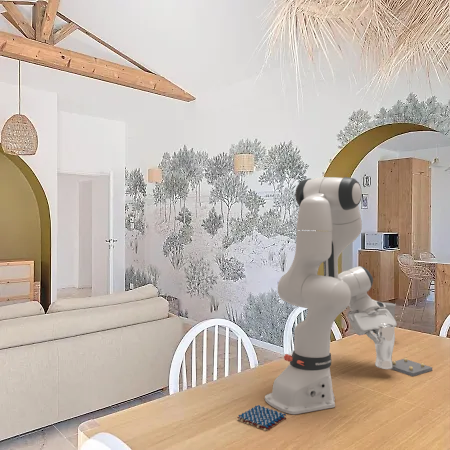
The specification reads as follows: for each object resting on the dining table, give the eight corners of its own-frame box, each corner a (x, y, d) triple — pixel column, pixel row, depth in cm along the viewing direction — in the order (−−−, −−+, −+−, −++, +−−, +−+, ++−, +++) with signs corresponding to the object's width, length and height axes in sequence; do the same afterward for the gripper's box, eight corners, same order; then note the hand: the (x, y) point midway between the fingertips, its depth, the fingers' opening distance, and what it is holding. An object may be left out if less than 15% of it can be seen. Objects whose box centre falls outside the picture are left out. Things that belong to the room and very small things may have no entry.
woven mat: (257, 409, 131) (257, 403, 131) (287, 420, 125) (287, 413, 125) (235, 422, 123) (235, 415, 123) (266, 434, 116) (266, 426, 116)
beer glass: (391, 363, 162) (391, 323, 162) (396, 370, 155) (397, 327, 155) (371, 362, 163) (372, 322, 162) (376, 369, 156) (377, 327, 155)
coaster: (412, 376, 158) (412, 369, 158) (384, 367, 169) (384, 360, 169) (432, 370, 165) (432, 364, 165) (404, 361, 175) (404, 355, 175)
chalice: (377, 344, 199) (378, 304, 199) (379, 340, 205) (380, 302, 205) (394, 346, 196) (395, 306, 196) (396, 342, 202) (397, 303, 202)
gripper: (350, 306, 159) (372, 340, 151) (386, 302, 170) (408, 333, 162) (340, 316, 163) (361, 350, 154) (376, 312, 174) (397, 342, 166)
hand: (385, 341), depth 158 cm, fingers closed on beer glass, 7 cm apart
